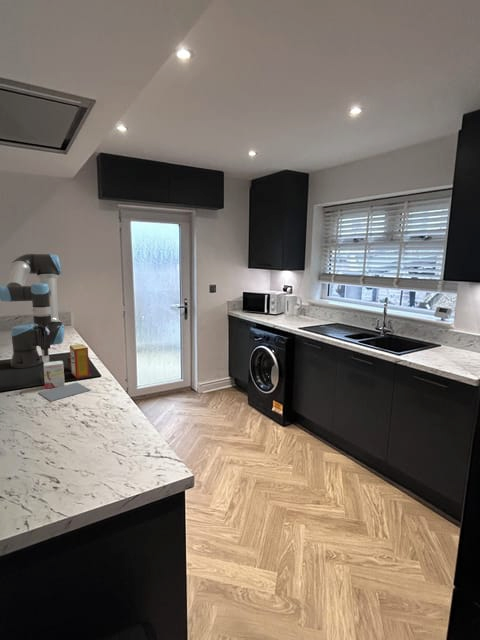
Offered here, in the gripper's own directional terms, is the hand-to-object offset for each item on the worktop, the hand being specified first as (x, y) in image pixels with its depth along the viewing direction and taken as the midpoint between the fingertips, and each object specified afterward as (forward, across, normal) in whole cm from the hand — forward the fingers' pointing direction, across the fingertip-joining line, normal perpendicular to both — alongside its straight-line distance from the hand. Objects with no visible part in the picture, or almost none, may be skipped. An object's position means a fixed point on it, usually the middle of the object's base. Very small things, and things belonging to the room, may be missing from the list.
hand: (45, 361), depth 176 cm
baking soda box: (+11, +2, +16) cm, 19 cm away
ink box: (+11, +9, 0) cm, 14 cm away
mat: (+11, +20, 0) cm, 22 cm away
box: (+11, -10, +19) cm, 24 cm away
